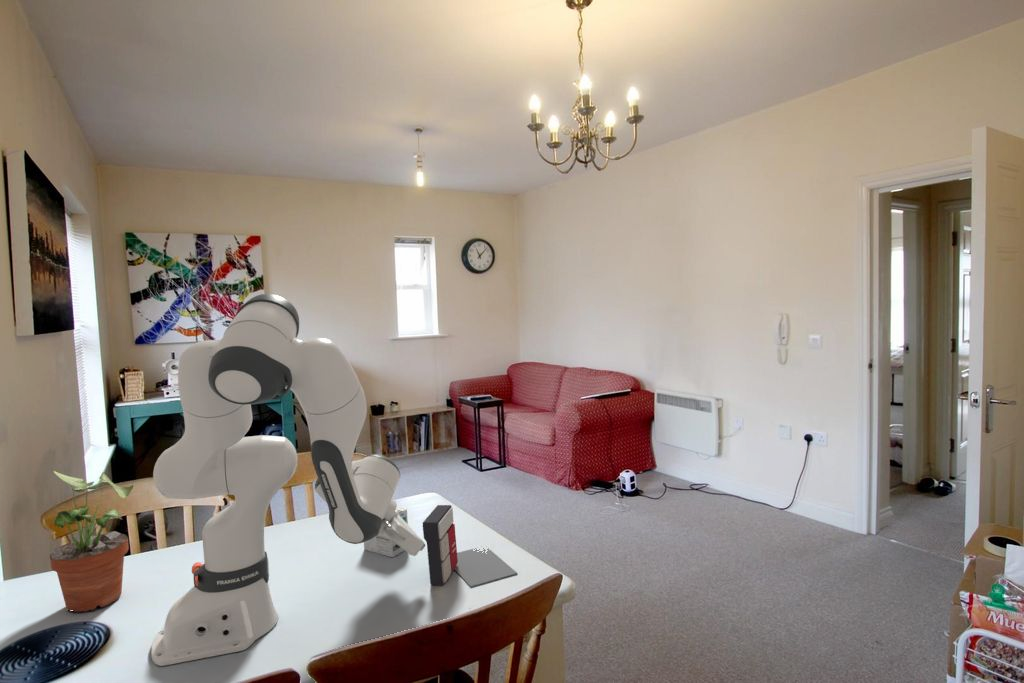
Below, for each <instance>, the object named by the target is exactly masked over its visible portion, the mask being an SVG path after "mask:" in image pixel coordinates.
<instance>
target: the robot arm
mask: <svg viewBox="0 0 1024 683" xmlns="http://www.w3.org/2000/svg"><path fill="white" fill-rule="evenodd" d="M299 316H300V315H299V312H298V311H297V309H296V308H295V306H294V305H293V303H291V302H290V301H289V300H288V299H286V298H284V297H282V296H281V295H280V296H279V295H277V294H274V293H273V294H272V293H260V294H258V295H255V296H253V297H251V298H250V299H249V300H247V301H246V302H245V303H243V305H242V306H240V307H239V309H238V310H237V311H236V314H235V315H234V316H233V318H232V320H231V321H230V322H229V324H228V325H227V328H226V329H225V331H224V333H223V335H222V338H221V339H218V340H217V339H215V340H214V339H209V340H207V339H206V340H201V341H198V342H196V343H193V344H191V345H190V346H188V347H187V348H186V349H185V350H184V351H183V352H182V353H181V355H180V357H179V361H178V367H177V368H178V369H177V384H178V385H177V386H178V394H179V399H180V405H181V408H182V413H183V420H184V432H183V434H182V436H181V438H180V439H179V440H178V441H177V442H176V443H174V444H173V445H171V446H170V447H169V448H167V449H165V450H164V451H163V452H162V453H161V454H160V455H159V457H158V458H157V460H156V462H155V464H154V467H153V472H152V473H153V474H152V478H153V482H154V485H155V488H156V489H157V492H159V493H160V494H161V495H162V496H163V497H164V498H166V499H173V500H198V499H199V500H200V499H205V498H212V497H219V496H226V495H227V496H228V495H233V496H234V501H233V502H232V503H231V504H230V505H229V506H227V507H225V508H224V509H222V510H221V511H218V512H217V513H216V514H214V515H213V516H212V517H211V518H210V519H209V520H208V521H207V522H206V523H205V525H204V526H203V528H202V534H201V535H202V536H201V537H202V548H203V550H202V551H203V562H204V563H202V562H200V561H197V562H195V563H193V565H192V566H191V574H192V575H193V587H191V588H190V589H189V590H188V591H187V592H186V593H185V594H183V596H181V597H180V598H179V599H178V600H176V601H175V602H174V603H173V605H172V606H171V607H170V609H169V611H168V613H167V615H166V618H165V620H164V626H163V628H161V630H159V631H158V633H157V634H156V635H155V637H154V638H153V641H152V644H151V651H150V654H151V655H150V656H151V660H152V662H153V663H154V664H155V665H157V666H160V667H164V666H169V665H174V664H179V663H180V664H181V663H184V662H190V661H195V660H201V659H205V658H210V657H212V658H213V657H217V656H221V655H228V654H231V653H237V652H242V651H245V650H247V649H249V647H251V645H253V643H254V642H255V641H257V640H258V639H259V638H260V637H262V636H264V635H266V634H267V633H268V632H270V631H271V630H272V629H273V628H274V627H275V626H276V624H277V622H278V620H279V616H278V613H277V611H276V608H275V605H274V602H273V598H272V595H271V591H270V587H269V586H270V584H269V581H270V564H269V557H268V554H267V552H266V551H265V550H266V549H265V520H266V515H267V511H268V508H269V506H270V504H271V502H272V500H273V498H274V497H275V495H276V494H277V493H278V492H279V491H280V489H281V488H282V487H284V486H285V485H287V483H289V481H290V480H291V479H292V478H293V476H294V474H295V473H296V470H297V468H298V453H297V450H296V447H295V446H294V444H293V442H291V440H289V439H288V438H287V437H286V436H280V435H279V436H278V435H268V434H267V435H263V434H259V435H252V436H245V435H246V434H247V433H248V432H249V431H250V428H251V427H252V423H253V411H252V405H255V404H262V403H266V402H267V401H269V400H279V399H280V398H282V397H283V396H285V395H286V394H287V393H288V392H289V391H290V390H291V391H292V393H293V394H294V396H295V398H296V399H297V401H298V403H299V405H300V407H301V408H302V411H303V413H304V416H305V420H306V422H307V427H308V432H309V438H310V439H309V440H310V455H311V461H312V465H313V467H314V471H315V473H316V477H317V478H316V481H315V484H314V490H315V492H316V494H317V495H318V497H320V498H321V499H322V500H323V501H325V503H326V504H327V507H328V511H329V513H328V514H329V515H328V519H329V523H330V527H331V528H332V531H333V532H334V534H335V535H336V537H338V538H339V539H340V540H343V541H344V542H346V543H349V544H354V545H358V544H362V543H363V544H364V542H366V541H368V540H370V539H372V538H374V537H376V536H377V535H378V533H379V534H384V533H386V534H387V536H388V537H389V538H390V539H391V540H392V541H393V542H395V543H396V544H397V545H398V546H400V547H401V548H402V549H404V550H405V551H404V552H407V554H409V555H411V556H413V557H416V556H418V554H419V553H420V552H421V551H423V549H425V547H426V543H425V542H424V541H423V540H422V538H421V537H420V536H419V535H418V534H417V532H415V530H413V529H412V527H411V526H410V525H409V523H408V524H407V523H406V522H405V521H404V520H403V519H402V518H401V516H400V515H399V514H398V510H397V509H396V508H398V507H397V506H398V504H397V501H396V500H395V499H393V497H394V494H395V492H396V490H397V487H398V485H399V482H400V479H401V472H400V468H398V466H397V464H396V463H395V462H394V461H393V460H392V459H390V458H389V457H388V456H386V455H384V454H380V453H373V454H368V455H366V456H364V457H363V458H361V459H359V460H358V459H357V460H353V458H354V453H355V449H356V447H357V443H358V440H359V437H360V434H361V431H362V429H363V427H364V425H365V421H366V418H367V413H368V408H367V398H366V394H365V391H364V388H363V386H362V384H361V382H360V380H359V377H358V375H357V374H356V371H355V369H354V368H353V365H351V362H350V361H349V359H348V358H347V357H346V354H344V353H343V351H342V350H341V348H340V347H339V346H338V344H336V343H335V342H334V341H333V340H331V339H328V338H324V337H312V338H309V339H306V340H300V339H298V338H297V337H298V335H299V332H300V331H299V330H300V317H299Z"/></svg>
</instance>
